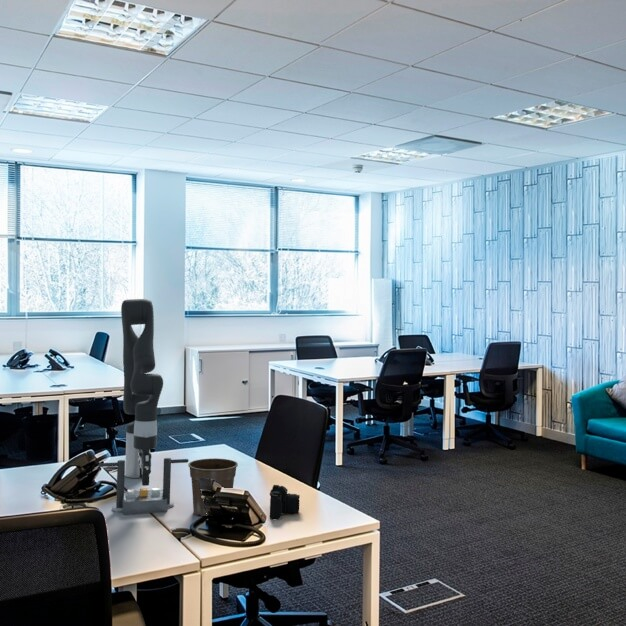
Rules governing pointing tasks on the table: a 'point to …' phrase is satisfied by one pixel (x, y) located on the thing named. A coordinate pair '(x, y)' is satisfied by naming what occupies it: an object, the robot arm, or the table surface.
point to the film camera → (282, 502)
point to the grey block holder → (144, 502)
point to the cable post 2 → (169, 477)
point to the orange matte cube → (143, 492)
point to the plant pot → (210, 477)
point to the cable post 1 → (118, 482)
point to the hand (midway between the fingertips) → (144, 481)
